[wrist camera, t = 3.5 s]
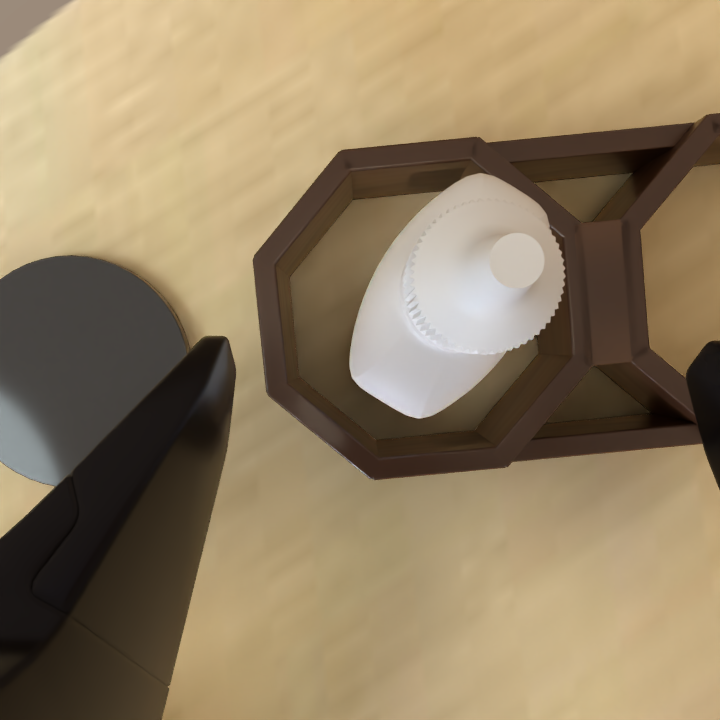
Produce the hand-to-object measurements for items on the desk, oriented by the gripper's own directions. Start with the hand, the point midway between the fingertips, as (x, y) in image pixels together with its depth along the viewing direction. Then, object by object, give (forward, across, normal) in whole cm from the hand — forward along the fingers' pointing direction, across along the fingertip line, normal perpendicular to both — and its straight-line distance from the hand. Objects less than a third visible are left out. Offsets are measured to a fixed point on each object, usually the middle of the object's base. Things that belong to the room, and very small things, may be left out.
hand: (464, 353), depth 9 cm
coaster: (+6, +12, +7) cm, 15 cm away
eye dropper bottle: (+7, 0, +6) cm, 9 cm away
